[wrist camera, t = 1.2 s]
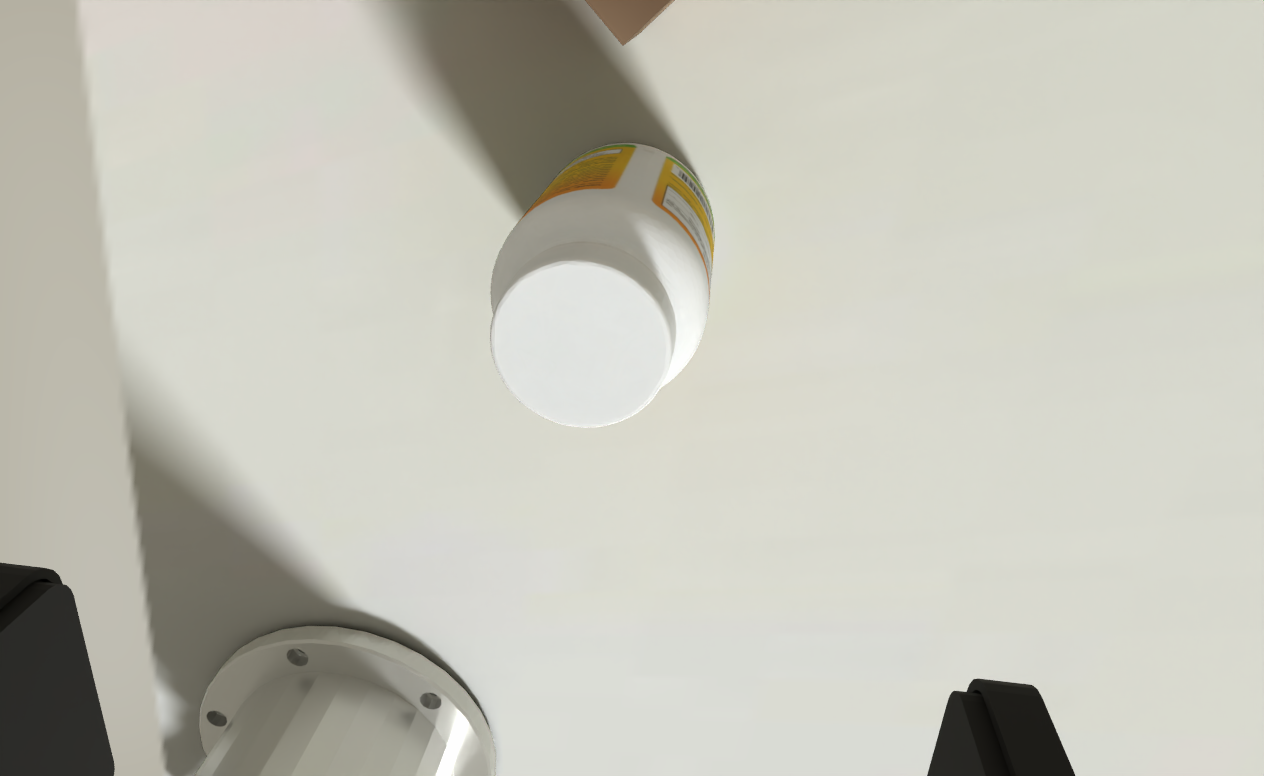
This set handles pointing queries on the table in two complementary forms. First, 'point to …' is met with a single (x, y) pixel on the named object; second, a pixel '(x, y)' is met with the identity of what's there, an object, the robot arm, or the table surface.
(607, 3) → the walnut riser
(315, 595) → the table surface
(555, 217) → the supplement bottle
